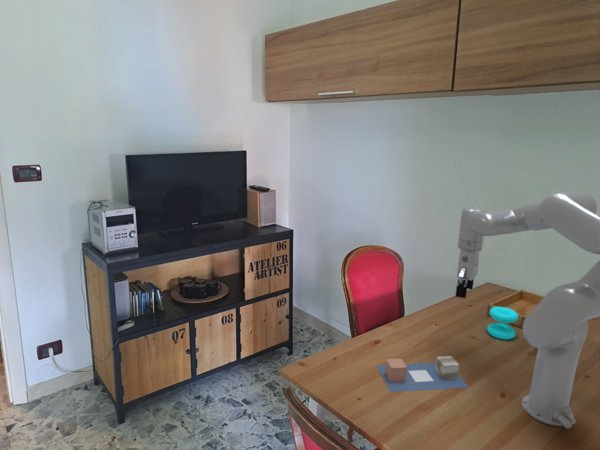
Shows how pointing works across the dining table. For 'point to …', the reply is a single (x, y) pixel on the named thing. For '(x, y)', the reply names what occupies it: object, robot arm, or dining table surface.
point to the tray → (518, 304)
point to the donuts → (499, 328)
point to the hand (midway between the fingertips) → (464, 292)
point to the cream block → (447, 367)
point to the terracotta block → (395, 370)
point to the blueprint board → (421, 379)
